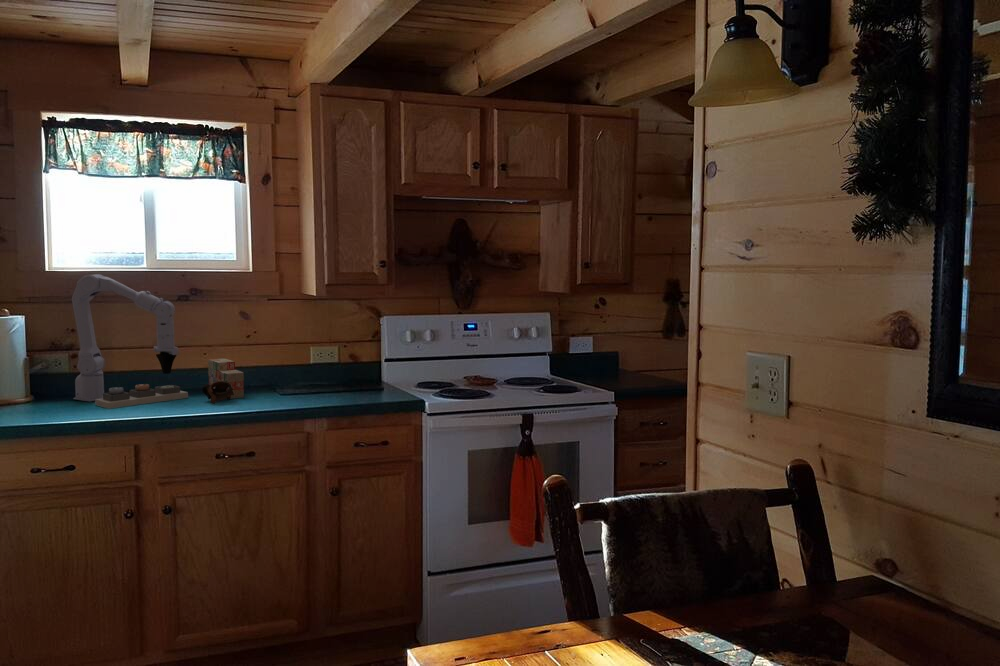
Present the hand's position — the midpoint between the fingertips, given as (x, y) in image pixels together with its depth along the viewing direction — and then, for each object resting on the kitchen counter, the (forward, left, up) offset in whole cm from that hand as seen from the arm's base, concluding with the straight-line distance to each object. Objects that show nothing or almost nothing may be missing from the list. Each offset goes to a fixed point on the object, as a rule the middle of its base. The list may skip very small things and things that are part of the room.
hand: (166, 373), depth 284 cm
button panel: (-1, -9, -9) cm, 13 cm away
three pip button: (-1, -9, -5) cm, 10 cm away
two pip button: (-3, -18, -5) cm, 19 cm away
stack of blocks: (+11, +17, -9) cm, 22 cm away
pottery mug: (+21, +5, -9) cm, 23 cm away
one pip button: (0, 0, -6) cm, 6 cm away
